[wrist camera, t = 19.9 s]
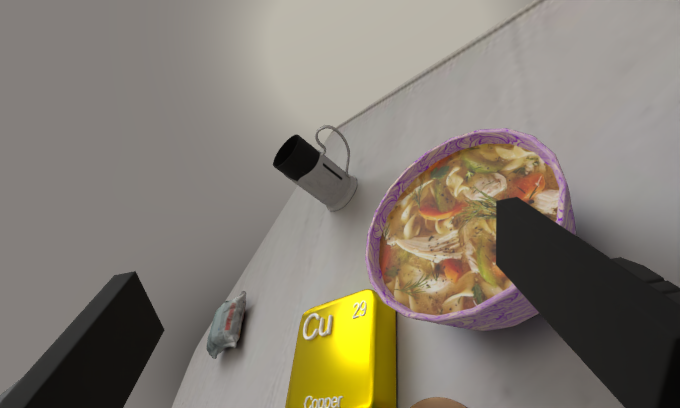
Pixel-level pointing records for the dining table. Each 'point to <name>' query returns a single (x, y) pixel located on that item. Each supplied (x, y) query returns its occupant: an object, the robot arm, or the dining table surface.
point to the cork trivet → (438, 403)
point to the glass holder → (316, 171)
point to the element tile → (345, 355)
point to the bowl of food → (461, 228)
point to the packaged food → (226, 325)
